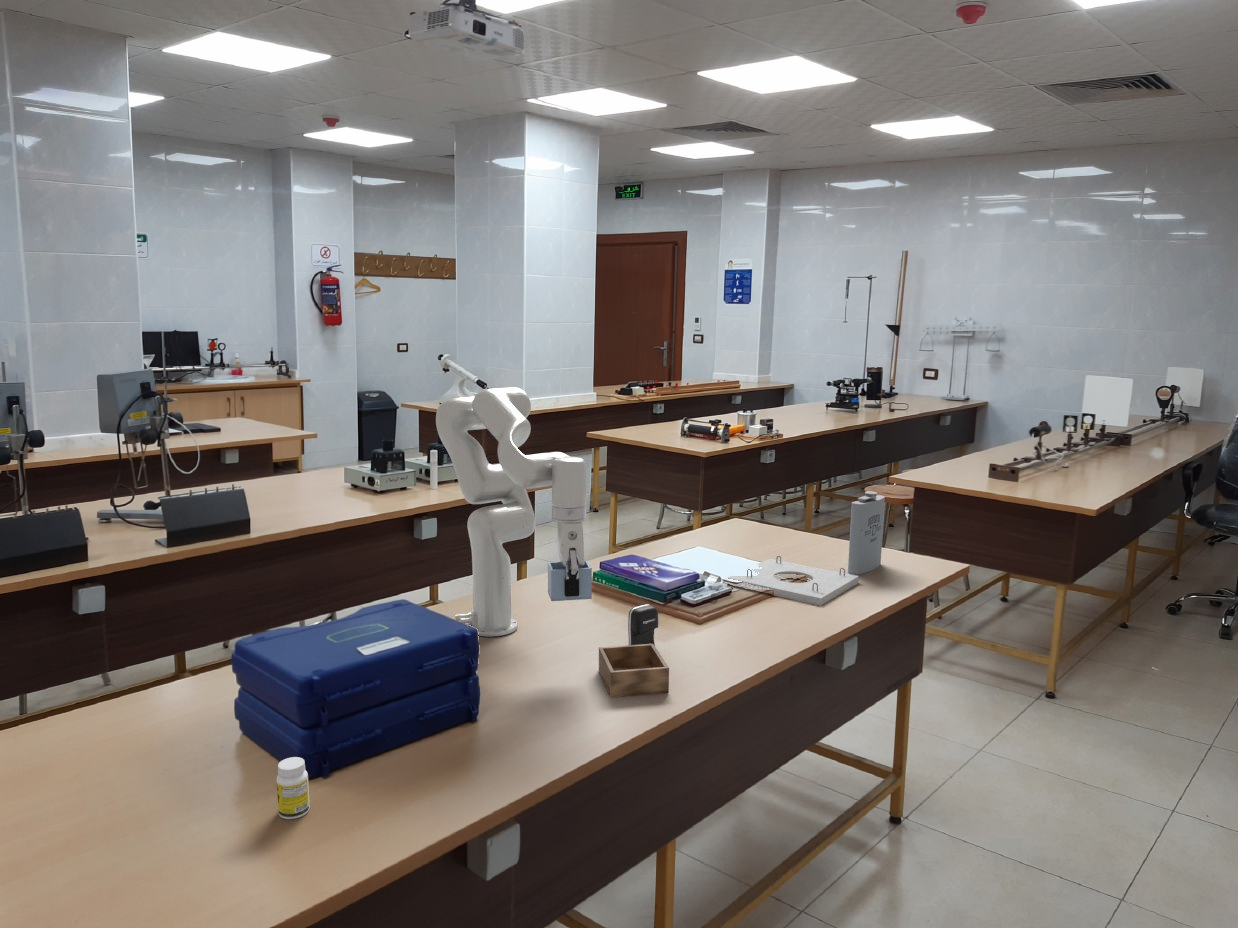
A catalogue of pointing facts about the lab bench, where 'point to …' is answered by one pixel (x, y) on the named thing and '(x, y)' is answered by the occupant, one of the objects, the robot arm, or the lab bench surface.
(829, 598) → the mounting panel
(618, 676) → the open wooden box
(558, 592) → the box
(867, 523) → the flask
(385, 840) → the lab bench surface
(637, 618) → the black upright device
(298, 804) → the supplement bottle
